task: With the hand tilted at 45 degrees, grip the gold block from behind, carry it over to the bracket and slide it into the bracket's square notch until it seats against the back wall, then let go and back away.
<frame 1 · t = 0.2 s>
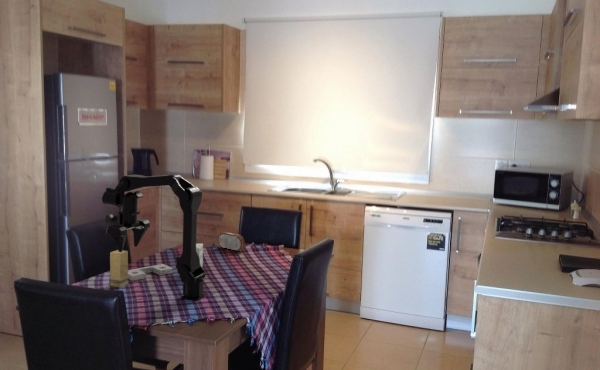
hand: (128, 249, 199), 14 cm above the table, tool pointing down, fingers open, 9 cm apart
ink box: (195, 273, 221), on the table
gold block: (119, 285, 202), on the table
bread slice: (230, 250, 262), on the table
bracket: (148, 274, 216), on the table
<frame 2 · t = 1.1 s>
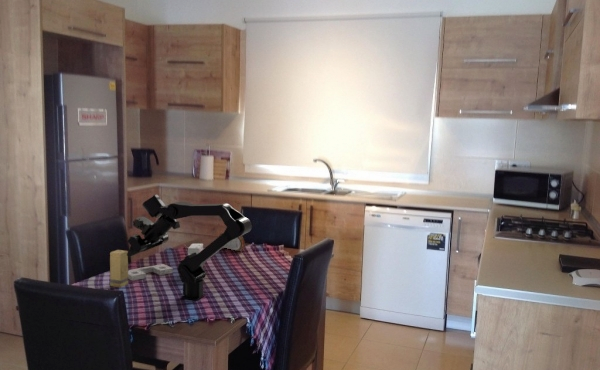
hand: (135, 253, 198), 13 cm above the table, tool tilted 45°, fingers open, 9 cm apart
nothing on the table moved.
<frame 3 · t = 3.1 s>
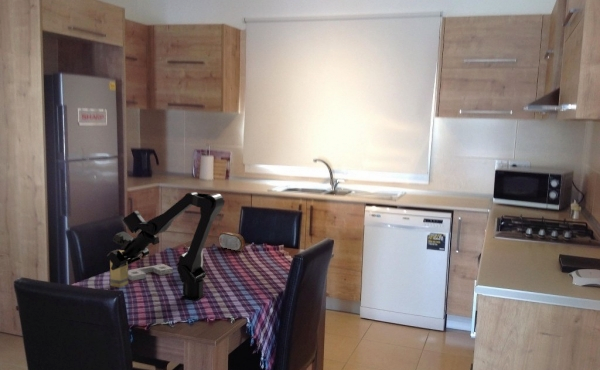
hand: (116, 267, 201), 7 cm above the table, tool tilted 45°, fingers closed on gold block, 4 cm apart
gold block: (119, 284, 202), on the table, touching gripper
everything else where it was.
when the fingers open (7 cm above the table, at t = 7.6 s): gold block stays where it is, on the table.
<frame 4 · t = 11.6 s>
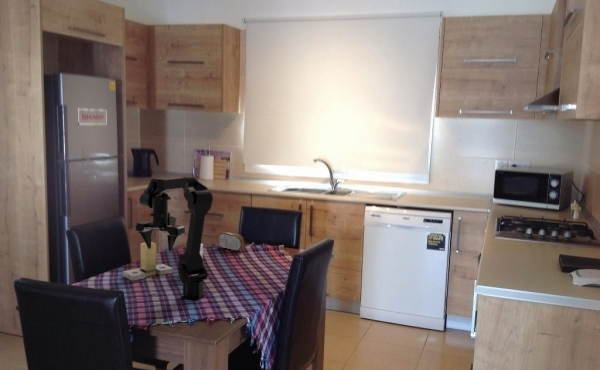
hand: (159, 249, 205), 13 cm above the table, tool pointing down, fingers open, 9 cm apart
gold block: (148, 274, 216), on the table
everything else where it was.
at the end: gold block 0.0 cm from the bracket (horizontally); gold block tilted 0°; gold block on the table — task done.
